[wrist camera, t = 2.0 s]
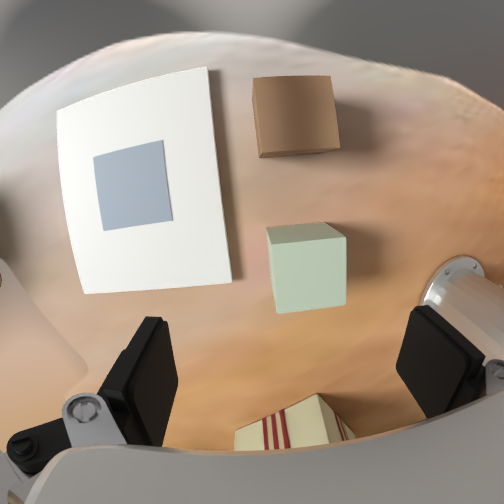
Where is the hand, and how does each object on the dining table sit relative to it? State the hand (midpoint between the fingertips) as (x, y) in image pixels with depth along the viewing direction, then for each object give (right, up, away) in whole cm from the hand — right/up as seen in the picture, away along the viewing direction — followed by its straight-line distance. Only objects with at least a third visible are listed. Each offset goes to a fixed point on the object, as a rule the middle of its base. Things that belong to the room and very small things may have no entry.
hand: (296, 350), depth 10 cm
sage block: (+3, +3, +19) cm, 20 cm away
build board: (-14, +10, +17) cm, 24 cm away
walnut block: (+2, +16, +16) cm, 23 cm away
